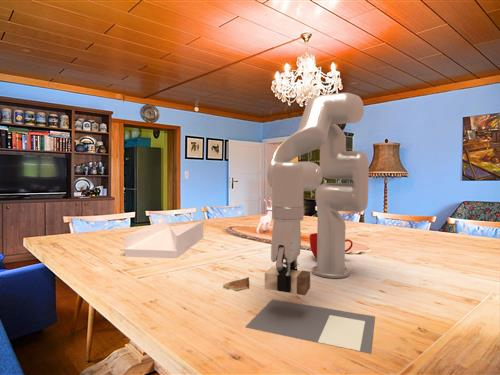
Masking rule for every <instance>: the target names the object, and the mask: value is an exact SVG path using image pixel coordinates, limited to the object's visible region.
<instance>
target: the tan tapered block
mask: <svg viewBox="0 0 500 375" xmlns="http://www.w3.org/2000/svg"><path fill="white" fill-rule="evenodd" d="M289 275H291V291H290V293H289V294H294V295H302V296H306V295H307V293H308V292H309V290H310V289H311V271H310V270H304V269H303V270H298V269H297V270H290V274H289ZM264 290H270V291H275V292H279V291H278V290H277V268H276V266H275V267H273V266H271V267H270V268H269V269H268V270H266V271H265V272H264Z"/></svg>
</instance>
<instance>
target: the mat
mask: <svg viewBox="0 0 500 375" xmlns="http://www.w3.org/2000/svg"><path fill="white" fill-rule="evenodd" d="M375 322H376V316H375V315H368V314H363V313H356V312H352V311H347V310H345V311H344V310H338V309H332V308H328V307H327V308H326V307H322V306H315V305H309V304H305V303H304V304H303V303H298V302H293V301H292V302H291V301H285V300H279V299H274V298H273V299H271V300H270V301H269V302H268V303H267V304H266V305H265V306H264V307H263V308H262V309H261V310H260V311H259V312H258V313H257V314H256V315H255V316H254V317H253V318H252V319H251V320H250V322H248V324H246V325H245V328H246V329H252V330H256V331H259V332H260V331H261V332H265V333H271V334H275V335H280V336H284V337H289V338H293V339H299V340H304V341H307V342H308V341H309V342H312V343H318V344H322V345H327V346H331V347H337V348H341V349H346V350H349V351H351V350H352V351H356V352H360V353H365V354H370V355H372V349H373V343H374V342H373V341H374V333H375V331H374V330H375V325H376V324H375Z"/></svg>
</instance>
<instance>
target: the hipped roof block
mask: <svg viewBox="0 0 500 375" xmlns="http://www.w3.org/2000/svg"><path fill="white" fill-rule="evenodd" d="M203 239H204V221H196V222H191V223H186V224H185V223H184V224H180V225H179V224H178V225H173V226H169V225H168V223H167V222H166V221H165V220H161V221H159V222H156V223H154V224H151V225H148V226H145V227H143V228H140V229H138V230H135V231H131V232H129V233H127V234H125V235H124V257H125V258H126V257H127V258H129V257H131V258H153V259H154V258H155V259H178V258H179V257H182V255H183V254H185V253H186V252H187V251H188V250H190V249H191V248H192V247H194V246H195V245H196V244H197V243H199V242H200V241H201V240H203Z"/></svg>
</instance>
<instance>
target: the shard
mask: <svg viewBox="0 0 500 375" xmlns="http://www.w3.org/2000/svg"><path fill="white" fill-rule="evenodd" d="M249 279H250V277H244V278H241V279H236V280H233V281H229V282H226V283H224V284H223V285H222V288H223V289H226V290H228V291H229V290H232V291H235V292H238V291H242V290H250V289H251V288H250V280H249Z"/></svg>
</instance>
